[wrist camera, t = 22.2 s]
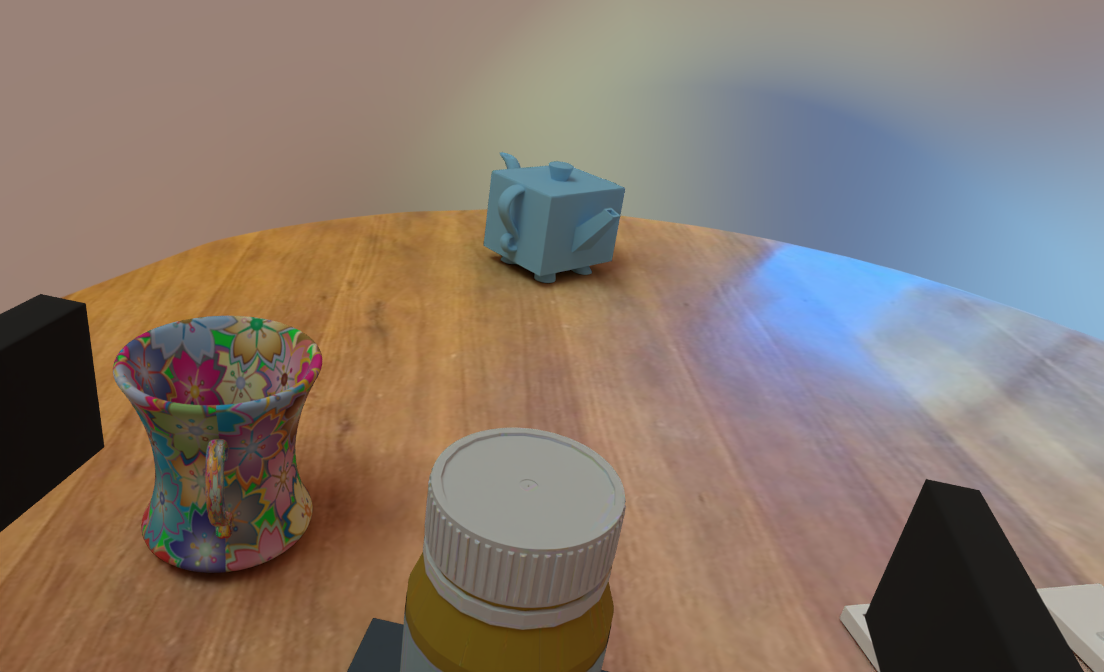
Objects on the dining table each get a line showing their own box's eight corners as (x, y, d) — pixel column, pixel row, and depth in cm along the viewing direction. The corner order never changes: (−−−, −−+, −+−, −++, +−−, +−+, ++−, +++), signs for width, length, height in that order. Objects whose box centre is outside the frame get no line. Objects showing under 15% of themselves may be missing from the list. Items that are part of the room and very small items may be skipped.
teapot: (547, 307, 74) (564, 194, 70) (438, 244, 86) (446, 142, 81) (652, 281, 85) (673, 180, 80) (542, 228, 96) (555, 137, 91)
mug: (147, 480, 45) (129, 314, 40) (316, 470, 48) (318, 314, 43) (109, 647, 34) (80, 451, 30) (326, 619, 38) (330, 438, 33)
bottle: (415, 912, 26) (453, 582, 20) (373, 734, 32) (392, 432, 25) (597, 845, 29) (682, 538, 23) (529, 693, 35) (582, 411, 28)
